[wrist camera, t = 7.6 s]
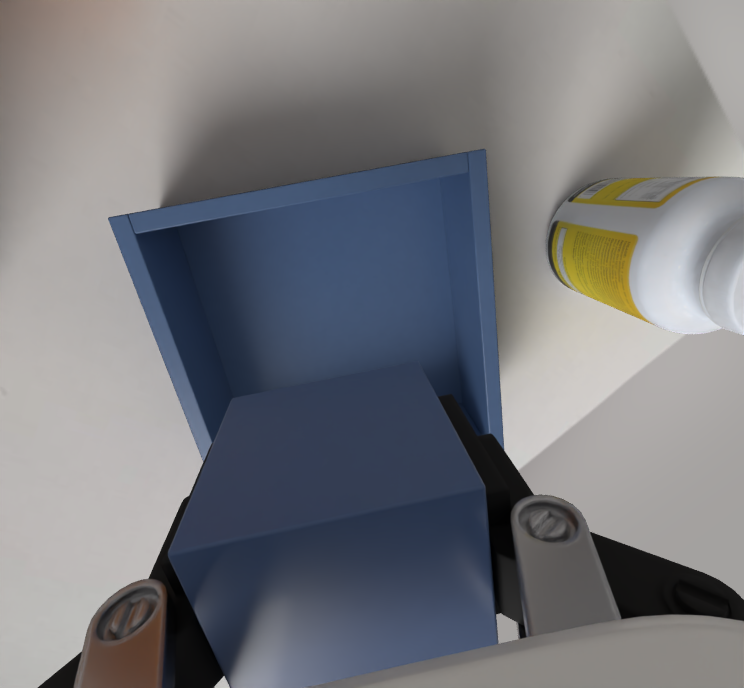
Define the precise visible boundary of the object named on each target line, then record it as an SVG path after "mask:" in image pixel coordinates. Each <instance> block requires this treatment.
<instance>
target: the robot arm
mask: <svg viewBox="0 0 744 688" xmlns="http://www.w3.org/2000/svg"><path fill="white" fill-rule="evenodd" d="M438 399H439V401H440V403H441V404H442V406H443V408H444V410H445V412H446V414H447V416H448V417H449V419H450V421H451V423H452V425H453V427H454V429H455V431H456V432H457V434H458V436H459V438H460V440H461V442H462V444H463V446H464V447H465V449H466V451H467V453H468V455H469V457H470V459H471V461H472V462H473V464H474V466H475V468H476V470H477V472H478V474H479V476H480V477H481V479H482V481H483V483H484V485H485V488H486V500H487V512H488V524H489V536H490V548H491V560H492V572H493V584H494V596H495V608H496V614H499V613H502V614H503V615H505V616H507V617H508V618H510V619H512V620H514V621H516V622H517V630H518V638H519V639H518V640H514V641H509V642H505V643H501V644H496V645H491V646H487V647H482V648H478V649H474V650H469V651H465V652H460V653H456V654H451V655H447V656H442V657H438V658H433V659H429V660H424V661H420V662H415V663H411V664H406V665H402V666H398V667H393V668H389V669H385V670H380V671H376V672H372V673H367V674H363V675H358V676H354V677H350V678H345V679H341V680H337V681H332V682H328V683H324V684H319V685H315V686H311V687H306V688H744V600H743V599H742V598H741V597H740V596H739V595H738V594H737V593H736V592H735V591H734V590H733V589H732V588H730V587H728V586H727V585H726V584H724V583H723V582H721V581H720V580H718V579H716V578H714V577H712V576H709V575H707V574H705V573H703V572H700V571H697V570H694V569H692V568H689V567H686V566H683V565H680V564H678V563H675V562H672V561H669V560H667V559H664V558H661V557H658V556H656V555H653V554H650V553H647V552H644V551H642V550H639V549H636V548H633V547H631V546H628V545H625V544H622V543H619V542H617V541H614V540H611V539H608V538H606V537H603V536H600V535H597V534H595V533H592V532H590V531H589V528H588V525H587V523H586V520H585V518H584V517H583V515H582V513H581V512H580V511H579V510H578V509H577V508H576V507H575V506H574V505H573V504H571V503H569V502H567V501H565V500H564V499H561V498H557V497H554V496H550V495H534V494H533V493H532V491H531V490H530V488H529V487H528V485H527V484H526V482H525V481H524V479H523V478H522V476H521V475H520V473H519V472H518V470H517V469H516V467H515V466H514V464H513V463H512V461H511V460H510V458H509V457H508V456H507V454H506V453H505V451H504V450H503V448H502V447H501V445H500V444H499V442H498V441H497V439H496V438H495V436H494V435H493V434H491V433H490V434H485V435H480V436H477V435H476V433H475V431H474V430H473V428H472V426H471V425H470V423H469V421H468V420H467V418H466V416H465V415H464V413H463V411H462V410H461V408H460V407H459V405H458V403H457V402H456V400H455V398H454V397H453V395H452V394H448V395H443V396H438ZM212 445H213V443H212V444H211V446H210V448H209V450H208V453H207V455H206V458H205V460H204V462H203V465H202V467H201V469H200V472H199V474H198V477H197V479H196V481H195V484H194V486H193V488H192V491H191V493H190V495H189V496H188V497H186V498H185V499H184V500H183V502H182V503H181V506H180V508H179V510H178V512H177V515H176V517H175V519H174V522H173V524H172V526H171V528H170V531H169V533H168V535H167V538H166V540H165V542H164V544H163V547H162V549H161V551H160V554H159V556H158V558H157V560H156V563H155V565H154V567H153V570H152V572H151V574H150V576H149V579H143V580H140V581H137V582H134V583H131V584H129V585H127V586H126V587H124V588H122V589H120V590H119V591H117V592H116V593H115V594H113V595H112V596H111V597H109V598H108V599H107V601H106V602H105V603H104V604H103V605H102V606H101V607H100V608H99V609H98V610H97V612H96V613H95V615H94V616H93V618H92V619H91V622H90V624H89V627H88V629H87V633H86V637H85V642H84V646H83V650H82V652H81V653H79V654H78V655H77V656H76V657H75V658H73V659H72V660H71V661H70V662H68V663H67V664H66V665H65V666H64V667H62V668H61V669H60V670H59V671H57V672H56V673H55V674H54V675H53V676H51V677H50V678H49V679H48V680H46V681H45V682H44V683H43V684H42V685H40V686H39V687H38V688H215V687H214V686H215V685H216V684H217V683H218V682H219V681H220V680H221V679H222V678H223V676H224V674H223V671H222V669H221V667H220V665H219V663H218V661H217V659H216V657H215V655H214V653H213V650H212V648H211V646H210V644H209V642H208V640H207V638H206V636H205V634H204V631H203V629H202V627H201V625H200V623H199V621H198V619H197V617H196V615H195V612H194V610H193V608H192V606H191V604H190V602H189V600H188V598H187V596H186V594H185V591H184V589H183V587H182V585H181V583H180V581H179V579H178V577H177V575H176V572H175V570H174V568H173V566H172V564H171V562H170V560H169V558H168V551H169V548H170V546H171V544H172V541H173V539H174V536H175V534H176V532H177V529H178V527H179V524H180V522H181V520H182V517H183V515H184V512H185V510H186V508H187V505H188V503H189V500H190V498H191V496H192V493H193V491H194V488H195V486H196V484H197V481H198V479H199V476H200V474H201V472H202V469H203V467H204V464H205V462H206V460H207V457H208V455H209V452H210V450H211V448H212Z"/></svg>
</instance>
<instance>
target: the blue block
mask: <svg viewBox="0 0 744 688" xmlns="http://www.w3.org/2000/svg"><path fill="white" fill-rule="evenodd" d="M168 558H169V560H170V562H171V564H172V566H173V568H174V570H175V572H176V575H177V577H178V579H179V581H180V583H181V585H182V587H183V589H184V591H185V594H186V596H187V598H188V600H189V602H190V604H191V606H192V608H193V610H194V612H195V615H196V617H197V619H198V621H199V623H200V625H201V627H202V629H203V631H204V634H205V636H206V638H207V640H208V642H209V644H210V646H211V648H212V650H213V653H214V655H215V657H216V659H217V661H218V663H219V665H220V667H221V669H222V671H223V674H224V676H225V678H226V680H227V682H228V684H229V686H230V688H306V687H311V686H315V685H319V684H324V683H328V682H332V681H337V680H341V679H345V678H350V677H354V676H358V675H363V674H367V673H372V672H376V671H380V670H385V669H389V668H393V667H398V666H402V665H406V664H411V663H415V662H420V661H424V660H429V659H433V658H438V657H442V656H447V655H451V654H456V653H460V652H465V651H469V650H474V649H478V648H482V647H487V646H491V645H496V644H498V633H497V620H496V608H495V596H494V584H493V572H492V560H491V548H490V536H489V524H488V512H487V500H486V488H485V485H484V483H483V481H482V479H481V477H480V476H479V474H478V472H477V470H476V468H475V466H474V464H473V462H472V461H471V459H470V457H469V455H468V453H467V451H466V449H465V447H464V446H463V444H462V442H461V440H460V438H459V436H458V434H457V432H456V431H455V429H454V427H453V425H452V423H451V421H450V419H449V417H448V416H447V414H446V412H445V410H444V408H443V406H442V404H441V403H440V401H439V399H438V397H437V395H436V393H435V391H434V389H433V388H432V386H431V384H430V382H429V380H428V378H427V376H426V374H425V373H424V371H423V369H422V367H421V365H420V363H419V362H418V361H415V362H410V363H405V364H400V365H395V366H390V367H385V368H380V369H375V370H370V371H365V372H360V373H355V374H350V375H345V376H340V377H335V378H330V379H325V380H320V381H315V382H310V383H305V384H300V385H296V386H291V387H286V388H281V389H276V390H271V391H266V392H261V393H256V394H251V395H246V396H241V397H236V398H233V399H232V400H231V402H230V404H229V407H228V409H227V412H226V414H225V416H224V419H223V421H222V424H221V426H220V428H219V431H218V433H217V436H216V438H215V440H214V443H213V445H212V448H211V450H210V452H209V455H208V457H207V460H206V462H205V464H204V467H203V469H202V472H201V474H200V476H199V479H198V481H197V484H196V486H195V488H194V491H193V493H192V496H191V498H190V500H189V503H188V505H187V508H186V510H185V512H184V515H183V517H182V520H181V522H180V524H179V527H178V529H177V532H176V534H175V536H174V539H173V541H172V544H171V546H170V548H169V551H168Z"/></svg>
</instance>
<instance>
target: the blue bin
mask: <svg viewBox="0 0 744 688" xmlns="http://www.w3.org/2000/svg"><path fill="white" fill-rule="evenodd" d="M108 220H109V222H110V225H111V227H112V230H113V232H114V235H115V238H116V240H117V243H118V245H119V248H120V250H121V253H122V255H123V258H124V261H125V263H126V266H127V268H128V271H129V273H130V276H131V278H132V281H133V284H134V286H135V289H136V291H137V294H138V296H139V299H140V301H141V304H142V306H143V309H144V312H145V314H146V317H147V319H148V322H149V324H150V327H151V329H152V332H153V335H154V337H155V340H156V342H157V345H158V347H159V350H160V352H161V355H162V358H163V360H164V363H165V365H166V368H167V370H168V373H169V375H170V378H171V380H172V383H173V386H174V388H175V391H176V393H177V396H178V398H179V401H180V403H181V406H182V409H183V411H184V414H185V416H186V419H187V421H188V424H189V426H190V429H191V432H192V434H193V437H194V439H195V442H196V444H197V447H198V449H199V452H200V454H201V457H202V460H203V462H204V460H205V458H206V455H207V453H208V450H209V448H210V446H211V444H212V443H214V440H215V438H216V436H217V433H218V431H219V428H220V426H221V424H222V421H223V419H224V416H225V414H226V412H227V409H228V407H229V404H230V402H231V400H232V399H233V398H236V397H241V396H246V395H251V394H256V393H261V392H266V391H271V390H276V389H281V388H286V387H291V386H296V385H300V384H305V383H310V382H315V381H320V380H325V379H330V378H335V377H340V376H345V375H350V374H355V373H360V372H365V371H370V370H375V369H380V368H385V367H390V366H395V365H400V364H405V363H410V362H415V361H418V362H419V363H420V365H421V367H422V369H423V371H424V373H425V374H426V376H427V378H428V380H429V382H430V384H431V386H432V388H433V389H434V391H435V393H436V395H437V397H438V396H443V395H448V394H452V395H453V397H454V398H455V400H456V402H457V403H458V405H459V407H460V408H461V410H462V411H463V413H464V415H465V416H466V418H467V420H468V421H469V423H470V425H471V426H472V428H473V430H474V431H475V433H476V435H477V436H480V435H485V434H490V433H491V434H493V435H494V436H495V438H496V439H497V441H498V442H499V444H500V445H501V447H502V448H503V450H504V439H503V423H502V406H501V390H500V374H499V357H498V341H497V325H496V308H495V292H494V275H493V259H492V243H491V226H490V210H489V194H488V177H487V161H486V150H485V149H480V150H474V151H469V152H463V153H458V154H453V155H447V156H442V157H436V158H431V159H425V160H420V161H414V162H409V163H403V164H398V165H392V166H387V167H382V168H376V169H371V170H365V171H360V172H354V173H349V174H343V175H338V176H332V177H327V178H321V179H316V180H310V181H305V182H300V183H294V184H289V185H283V186H278V187H272V188H267V189H261V190H256V191H250V192H245V193H239V194H234V195H229V196H223V197H218V198H212V199H207V200H201V201H196V202H190V203H185V204H179V205H174V206H168V207H163V208H158V209H152V210H147V211H141V212H136V213H130V214H125V215H119V216H114V217H109V218H108Z"/></svg>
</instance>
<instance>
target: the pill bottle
mask: <svg viewBox="0 0 744 688" xmlns="http://www.w3.org/2000/svg"><path fill="white" fill-rule="evenodd" d="M546 256H547V260H548V264H549V266H550V269H551V270H552V272H553V274H554V275H555V276H556V278H557V279H558V280H559V281H560V282H561V283H562V284H564V285H565V286H567V287H568V288H570V289H572V290H574V291H576V292H579V293H581V294H583V295H586V296H588V297H590V298H593V299H595V300H597V301H600V302H602V303H604V304H607V305H609V306H611V307H614V308H616V309H618V310H621V311H623V312H625V313H627V314H630V315H632V316H634V317H637V318H639V319H641V320H644V321H646V322H648V323H650V324H653V325H655V326H657V327H660V328H663V329H665V330H668V331H671V332H676V333H682V334H702V333H708V332H712V331H716V330H719V329H722V328H724V329H726V330H729V331H732V332H735V333H738V334H741V335H744V178H740V177H675V178H615V179H605V180H599V181H596V182H593V183H590V184H588V185H586V186H584V187H582V188H580V189H579V190H577V191H576V192H574V193H573V194H572V195H571V196H570V197H568V198H567V199H566V200H565V201H564V203H563V204H562V205H561V206H560V208H559V209H558V210H557V212H556V214H555V215H554V217H553V219H552V221H551V224H550V226H549V229H548V233H547V238H546Z"/></svg>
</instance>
